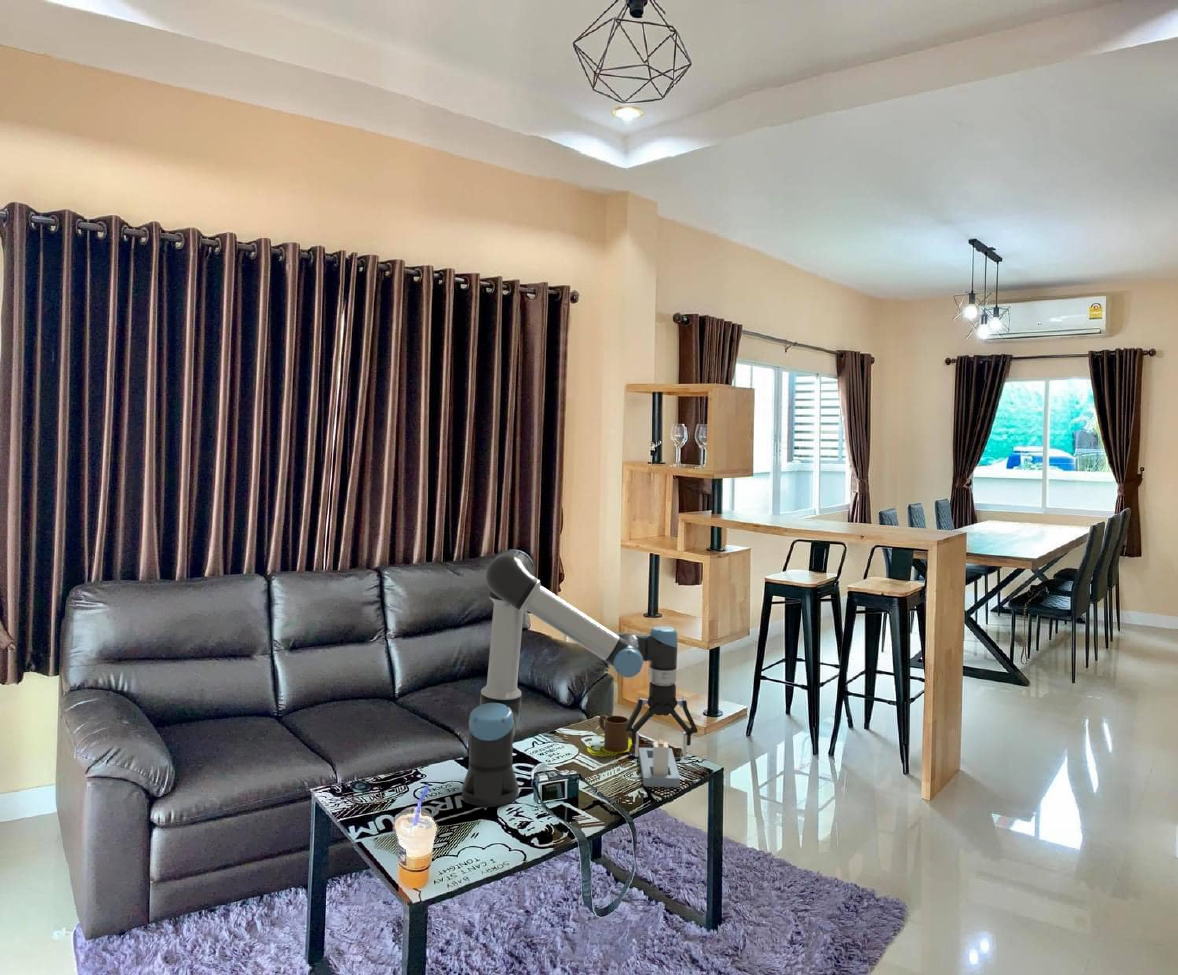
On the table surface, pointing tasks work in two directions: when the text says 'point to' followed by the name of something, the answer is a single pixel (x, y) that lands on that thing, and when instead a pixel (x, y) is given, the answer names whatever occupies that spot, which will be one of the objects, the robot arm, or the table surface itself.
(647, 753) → the panel
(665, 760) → the plug
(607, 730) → the mug
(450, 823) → the table surface
